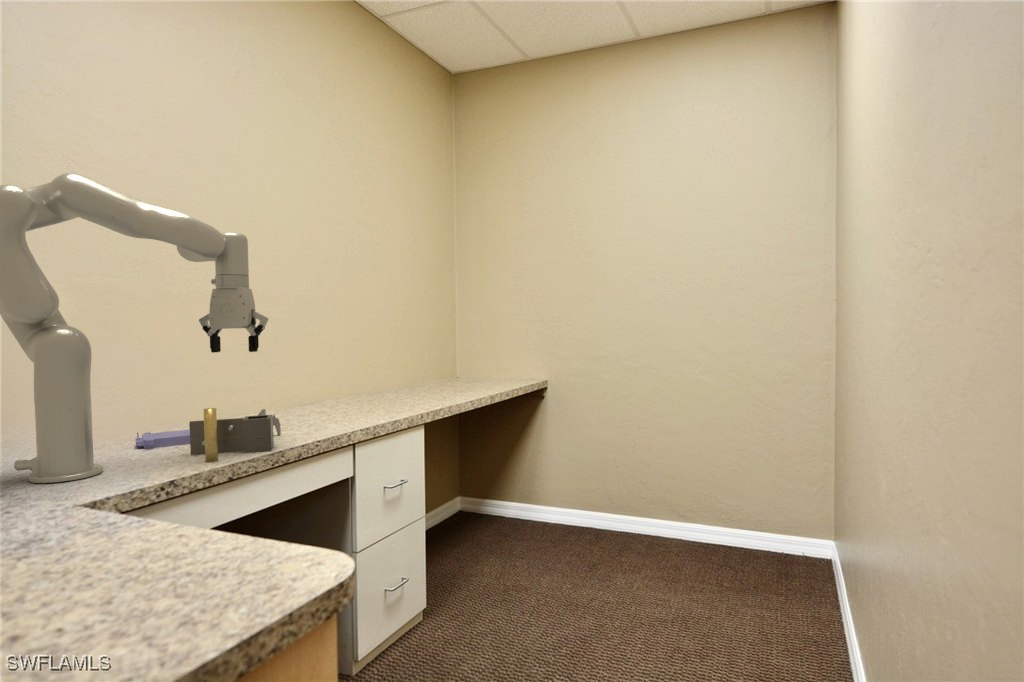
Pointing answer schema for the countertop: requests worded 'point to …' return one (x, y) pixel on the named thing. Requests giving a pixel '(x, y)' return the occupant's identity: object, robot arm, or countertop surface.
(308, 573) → the countertop surface
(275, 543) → the countertop surface
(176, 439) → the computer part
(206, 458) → the pin
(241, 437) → the hinge
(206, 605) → the countertop surface
